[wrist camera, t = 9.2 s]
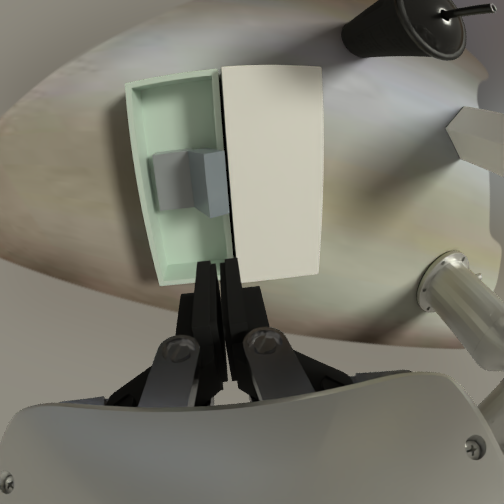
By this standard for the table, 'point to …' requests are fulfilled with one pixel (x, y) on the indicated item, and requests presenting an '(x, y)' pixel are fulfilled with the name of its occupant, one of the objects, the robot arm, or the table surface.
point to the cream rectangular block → (274, 167)
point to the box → (172, 138)
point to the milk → (479, 138)
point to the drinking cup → (410, 29)
